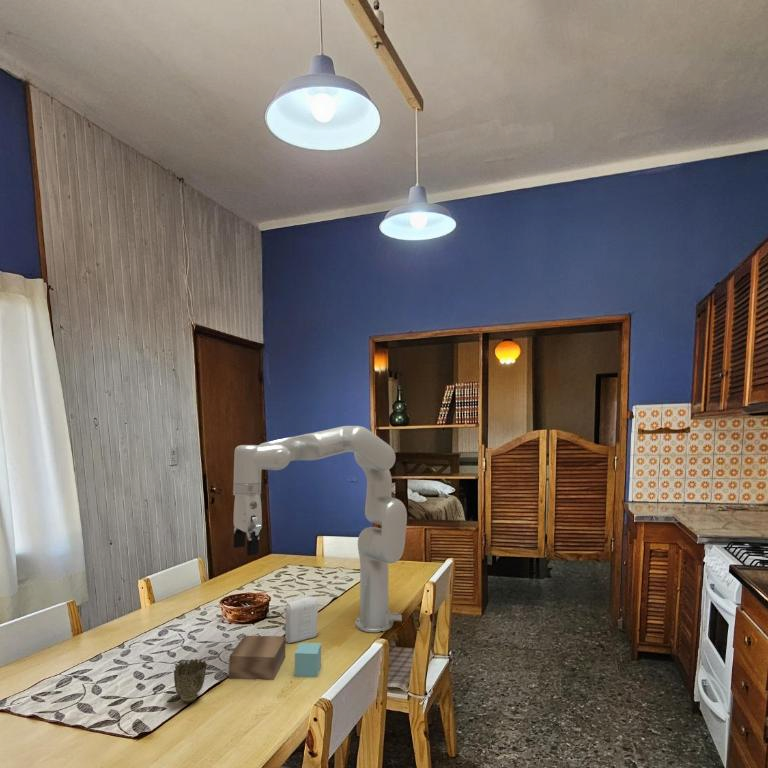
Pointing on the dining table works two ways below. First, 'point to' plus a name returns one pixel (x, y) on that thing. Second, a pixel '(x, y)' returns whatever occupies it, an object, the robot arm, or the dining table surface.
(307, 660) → the teal cube
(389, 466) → the robot arm
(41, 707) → the dining table surface
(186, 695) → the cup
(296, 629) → the photo printer
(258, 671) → the walnut block
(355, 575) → the dining table surface
